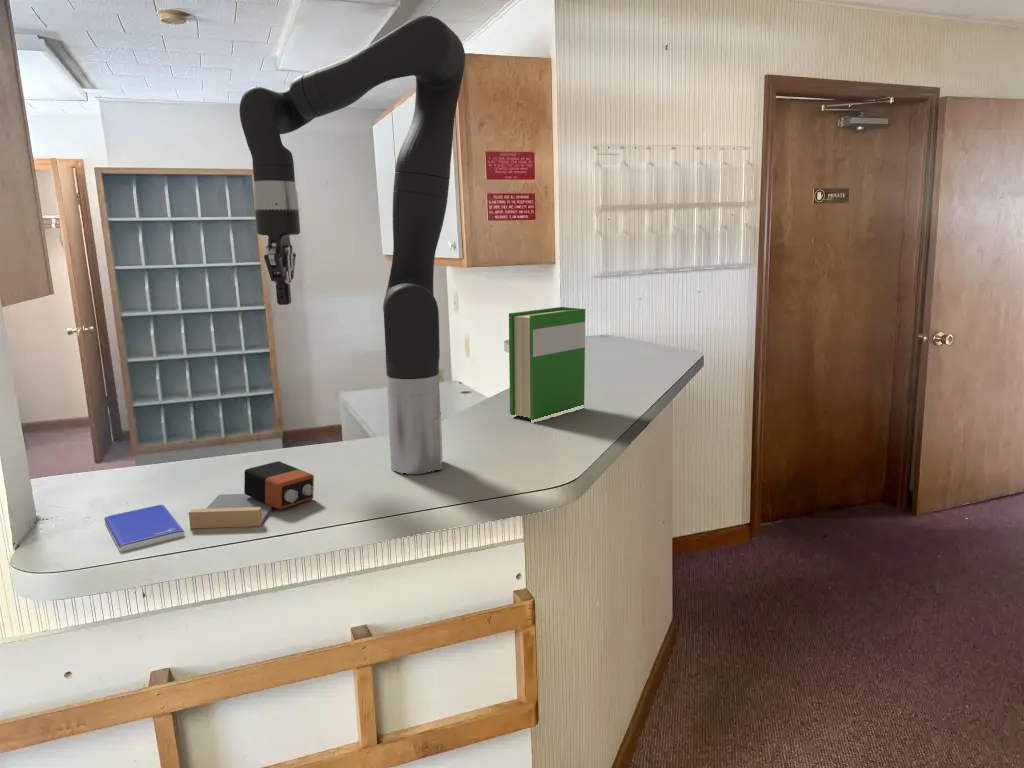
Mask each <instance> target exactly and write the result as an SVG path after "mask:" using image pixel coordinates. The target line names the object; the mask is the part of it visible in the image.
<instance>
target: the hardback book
mask: <svg viewBox="0 0 1024 768" xmlns="http://www.w3.org/2000/svg"><path fill="white" fill-rule="evenodd" d="M508 354H509V355H508V356H509V359H508V360H509V363H508V365H509V367H508V368H509V372H508V373H509V415H510V414H511V415H515V414H516V415H520V417H521V416H523V417H522V418H525V417H528V418H527V419H529V418H530V419H532V420H534V419H538V418H541V417H544V416H548V415H551V414H554V413H558V412H561V411H564V410H568V409H571V408H574V407H577V406H581V405H584V406H585V381H586V380H585V379H586V378H585V375H586V374H585V371H586V369H585V368H586V364H585V363H586V360H585V359H586V308H579V307H566V306H557V307H550V308H541V309H533V310H523V311H515V312H508ZM530 419H529V420H530Z"/></svg>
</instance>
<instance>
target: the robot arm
mask: <svg viewBox="0 0 1024 768" xmlns="http://www.w3.org/2000/svg"><path fill="white" fill-rule="evenodd" d="M465 54H466V52H465V49H464V46H463V42H462V41H461V39H460V37H459V36H458V35H457V34H456V33H455V31H453V30H452V29H451V28H450V27H449V26H448V25H447V24H446V23H445V22H444V21H442V20H441V19H439V18H438V17H435V16H433V15H420V16H417V17H414V18H412V19H410V20H409V21H407V22H404V23H403V24H402V25H400V26H398V27H397V28H395V29H393V30H392V31H391V32H389V33H387V34H386V35H384V36H382V37H381V38H378V40H376V41H373V43H370V44H368V45H367V46H365V47H364V48H362V49H360V50H358V51H356V52H354V53H352V54H350V55H348V56H346V57H344V58H342V59H339V60H338V61H335V62H332V63H330V64H327V65H325V66H322V67H320V68H317V69H314V70H311V71H309V72H307V73H303V74H301V75H299V76H298V77H295V78H294V79H293V80H292V81H291V83H290V85H289V88H288V89H286V90H283V91H279V92H278V91H274V90H271V89H269V88H265V87H262V86H254V87H253V86H252V87H250V88H248V89H247V90H245V91H244V93H243V95H242V96H241V98H240V103H239V109H238V110H239V119H240V124H241V128H242V131H243V133H244V137H245V140H246V141H245V142H246V144H247V146H248V149H249V152H250V155H251V159H252V162H251V163H252V172H253V174H252V175H253V204H254V217H255V225H256V226H255V228H256V233H257V234H258V236H267V237H268V238H267V240H268V241H267V245H266V247H265V249H266V251H265V252H266V253H264V258H263V259H264V262H265V264H266V268H267V271H268V274H269V277H270V280H271V282H273V283H274V285H275V291H276V304H277V305H280V306H288V305H290V304H291V303H292V295H291V284H292V280H293V279H294V278H295V277H294V273H295V264H296V257H297V255H296V252H295V251H294V246H293V245H292V244H291V239H290V238H291V237H290V236H295V235H296V236H298V235H300V233H301V227H300V226H301V223H300V213H299V211H300V209H299V197H298V190H297V186H296V179H295V164H294V156H293V153H292V152H291V150H289V149H288V148H286V147H285V146H284V143H282V137H281V135H286V134H289V133H292V132H294V131H297V130H299V129H300V128H302V127H304V126H305V125H307V124H309V123H311V122H312V121H313V120H314V119H315V118H319V117H322V116H325V115H329V114H331V113H334V112H336V111H339V110H342V109H345V108H346V107H349V106H351V105H352V104H354V103H355V102H358V100H359V99H361V98H362V97H363V96H365V95H366V94H367V93H368V92H370V91H371V90H373V89H374V88H376V87H377V86H379V85H381V84H383V83H386V82H389V81H391V80H396V79H400V78H405V77H412V76H413V77H415V99H414V100H415V101H414V102H415V103H414V112H413V116H412V120H411V123H410V126H409V129H408V132H407V134H406V136H405V138H404V140H403V143H402V145H401V146H400V149H399V152H398V155H397V158H396V161H395V170H394V180H393V190H392V191H393V192H392V239H393V242H392V244H393V246H392V247H393V251H392V253H393V254H392V261H391V266H390V273H389V279H388V283H387V286H386V292H385V297H384V300H383V304H382V312H383V324H384V325H383V326H384V347H385V369H386V372H385V373H386V391H387V392H386V393H387V410H388V411H387V413H388V427H389V428H388V431H389V433H388V434H389V449H390V451H389V452H390V453H389V455H390V457H389V458H390V466H391V467H390V468H391V470H392V471H394V472H395V471H396V473H398V472H399V474H403V473H406V474H405V475H421V474H422V473H423V474H428V473H427V472H429V473H432V472H435V471H434V470H441V469H443V461H442V460H443V457H444V455H443V429H442V428H443V427H442V412H441V398H440V397H441V395H440V355H441V353H440V352H441V350H440V315H439V307H438V302H437V299H436V298H435V296H434V294H435V293H434V274H435V273H434V271H435V269H434V268H435V257H436V252H437V248H438V247H437V246H438V243H439V240H440V236H441V233H442V229H443V226H444V221H445V216H446V212H447V205H448V201H449V200H448V197H449V188H450V187H449V186H450V177H451V165H452V164H451V163H452V152H453V142H454V140H453V139H454V129H455V118H456V113H457V107H458V102H459V101H458V100H459V96H460V91H461V88H462V87H461V85H462V81H463V76H464V72H465V64H466V55H465ZM431 471H432V472H431ZM441 471H442V470H441Z"/></svg>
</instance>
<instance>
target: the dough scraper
mask: <svg viewBox="0 0 1024 768" xmlns="http://www.w3.org/2000/svg"><path fill="white" fill-rule="evenodd" d="M273 509H274V507H272V506H270V505H268V504H266V503H264V502H261V501H259V500H257V499H255V498H253V497H250V496H248V495H246V494H245V493H233V494H232V493H231V494H230V493H229V494H226V493H225V494H218V495H217V496H216V497H215V498H214V500H212V502H210V503H209V505H208V506H207V507H205V508H192V509H190V510H189V511H188V520H189V528H190V529H216V528H217V529H218V528H245V527H247V528H248V527H249V528H250V527H261V526H262V524H263V523H264V521H266V519H267V518H268V516H269V514H270V513H271V512H272V510H273Z"/></svg>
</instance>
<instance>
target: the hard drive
mask: <svg viewBox="0 0 1024 768" xmlns="http://www.w3.org/2000/svg"><path fill="white" fill-rule="evenodd" d="M103 518H104V524H105V523H106V524H105V525H107V526H106V527H108V528H107V530H108V529H109V530H108V532H109V531H110V532H109V533H111V534H110V536H111V535H112V536H111V537H112V539H113V541H114V543H115V545H116V544H117V545H116V546H118V547H117V548H119V549H118V550H119V552H120V551H122V552H125V550H126V551H130V550H132V549H138V548H141V547H145V546H149V545H153V544H158V543H161V542H165V541H168V540H172V539H177V538H181V537H184V536H186V535H185V531H184V529H183V527H182V526H181V525H180V523H179V522H178V521H177V520H176V519H175V518H174V516H173V514H171V512H170V510H168V509H167V508H166V506H165V505H164V504H158V505H154V506H148V507H147V506H146V507H143V508H139V509H133V510H129V511H126V512H121V513H116V514H111V515H107V516H105V517H103ZM157 542H158V543H157ZM129 549H130V550H129Z"/></svg>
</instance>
